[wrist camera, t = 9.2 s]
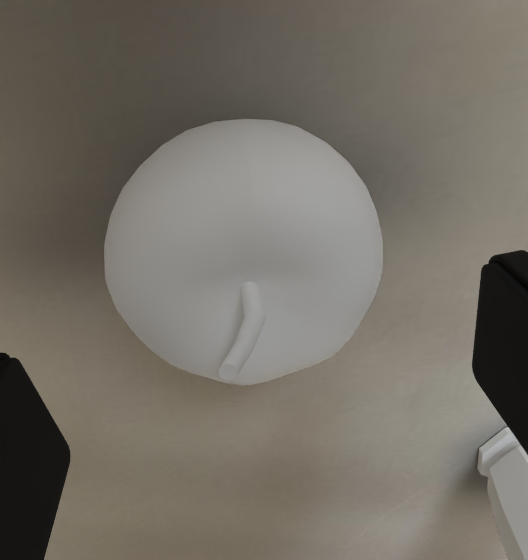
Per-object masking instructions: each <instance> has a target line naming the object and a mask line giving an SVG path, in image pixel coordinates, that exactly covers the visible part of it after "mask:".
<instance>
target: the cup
mask: <svg viewBox="0 0 528 560" xmlns="http://www.w3.org/2000/svg"><path fill="white" fill-rule="evenodd" d="M477 469H478V470H479V472H480V474H481V475H483V476H486V477H488V485H487V492H488V495H489V499H490V503H491V507H492V511H493V515H494V518H495V522H496V526H497V530H498V534H499V536H500V539H501V542H502V544H503V547H504V549H505V552H506V555H507V557H508V560H528V455H527V453H526V452H525V450H524V449H523V447H522V446H521V445H520V443H519V442H518V440H517V439H516V437H515V436H514V434H513V433H512V432H511V430H510V429H509V427H507V428H504V429H502V430H501V431H500V432H499V433H498V434H496V435H495V436H494V437H493V438H491V439H490V440H489V441H488V442H486V443H485V444H484V445H483V446H481V447H480V448H479V456H478V466H477Z"/></svg>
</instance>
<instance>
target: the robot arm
mask: <svg viewBox="0 0 528 560" xmlns="http://www.w3.org/2000/svg"><path fill="white" fill-rule="evenodd" d="M472 368H473V373H474V376H475V379H476V381H477V382H478V384H479V385H480V387H481V388H482V390H483V391H484V392H485V394H486V395H487V397H488V398H489V400H490V401H491V403H492V404H493V406H494V407H495V408H496V410H497V411H498V413H499V414H500V416H501V417H502V419H503V420H504V421H505V423H506V424H507V426H508V427H509V429H510V430H511V432H512V433H513V434H514V436H515V437H516V439H517V440H518V442H519V443H520V445H521V446H522V447H523V449H524V450H525V452H526V453H527V455H528V252H526V251H524V250H519V251H514V252H509V253H504V254H499V255H494V256H493V257H491V259H490V261H489V264H486V265H484V266H483V268H482V271H481V280H480V290H479V300H478V310H477V320H476V330H475V340H474V350H473V360H472ZM69 464H70V450H69V446H68V444H67V442H66V440H65V439H64V437H63V435H62V433H61V432H60V430H59V428H58V427H57V425H56V423H55V421H54V420H53V418H52V416H51V414H50V413H49V411H48V409H47V407H46V406H45V404H44V402H43V401H42V399H41V397H40V395H39V394H38V392H37V390H36V388H35V387H34V385H33V383H32V381H31V380H30V378H29V376H28V375H27V373H26V371H25V369H24V368H23V366H22V364H21V363H20V361H19V360H18V359H17V358H10V356H9V355H7V354H6V353H0V560H44V557H45V553H46V550H47V546H48V542H49V538H50V535H51V531H52V527H53V524H54V520H55V516H56V512H57V509H58V505H59V501H60V498H61V494H62V490H63V487H64V483H65V479H66V475H67V472H68V468H69Z"/></svg>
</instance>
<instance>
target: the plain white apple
mask: <svg viewBox="0 0 528 560" xmlns="http://www.w3.org/2000/svg"><path fill="white" fill-rule="evenodd" d="M104 262H105V281H106V284H107V287H108V290H109V292H110V295H111V298H112V300H113V303H114V306H115V308H116V310H117V311H118V312H119V314H120V315H121V317H122V318H123V319H124V321H125V322H126V323H127V325H128V326H129V327H130V329H131V330H132V331H133V333H134V334H135V335H136V336H137V337H138V338H139V339H140V340H141V341H142V342H143V343H144V344H145V345H146V346H147V347H148V348H149V349H150V350H151V351H153V352H154V353H155V354H157V355H158V356H159V357H161V358H162V359H163V360H165V361H166V362H167V363H169V364H171V365H172V366H175V367H177V368H180V369H182V370H184V371H187V372H189V373H192V374H196V375H199V376H203V377H206V378H210V379H213V380H217V381H220V382H223V383H227V384H236V385H245V386H248V385H253V384H258V383H262V382H267V381H271V380H274V379H277V378H279V377H282V376H285V375H288V374H291V373H294V372H296V371H299V370H302V369H305V368H308V367H311V366H314V365H316V364H318V363H320V362H322V361H324V360H326V359H328V358H329V357H331V356H333V355H335V354H336V353H337V352H338V351H339V350H340V349H341V348H342V347H343V346H344V345H345V344H346V343H347V341H348V340H349V339H350V338H351V337H352V336H353V334H354V333H355V331H356V329H357V328H358V326H359V324H360V323H361V321H362V319H363V318H364V316H365V314H366V312H367V311H368V309H369V307H370V305H371V303H372V301H373V300H374V298H375V295H376V292H377V289H378V285H379V282H380V279H381V276H382V272H383V239H382V234H381V230H380V225H379V220H378V215H377V212H376V209H375V206H374V204H373V201H372V199H371V197H370V194H369V192H368V189H367V187H366V185H365V184H364V182H363V181H362V180H361V178H360V177H359V176H358V174H357V173H356V172H355V170H354V169H353V167H352V166H351V165H350V163H349V162H348V161H347V160H346V159H345V158H344V157H343V156H341V155H340V154H339V153H338V152H337V151H336V150H335V149H333V148H332V147H331V146H330V145H329V144H328V143H326V142H325V141H323V140H321V139H319V138H318V137H316V136H314V135H312V134H310V133H309V132H307V131H305V130H303V129H301V128H299V127H298V126H294V125H290V124H286V123H282V122H278V121H274V120H261V119H237V120H227V121H217V122H212V123H209V124H205V125H202V126H199V127H195V128H192V129H189V130H186V131H185V132H183V133H181V134H180V135H178V136H176V137H175V138H173V139H171V140H170V141H168V142H166V143H165V144H163V145H162V146H161V147H160V148H159V149H158V150H156V151H155V152H154V153H153V154H152V155H151V156H150V157H149V158H148V159H147V160H145V161H144V162H143V163H142V164H141V165H140V166H139V167H138V169H137V170H136V171H135V173H134V174H133V175H132V177H131V178H130V179H129V180H128V182H127V183H126V184H125V186H124V187H123V188H122V190H121V193H120V195H119V197H118V199H117V201H116V204H115V206H114V208H113V210H112V213H111V216H110V219H109V224H108V229H107V234H106V238H105V243H104Z"/></svg>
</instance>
